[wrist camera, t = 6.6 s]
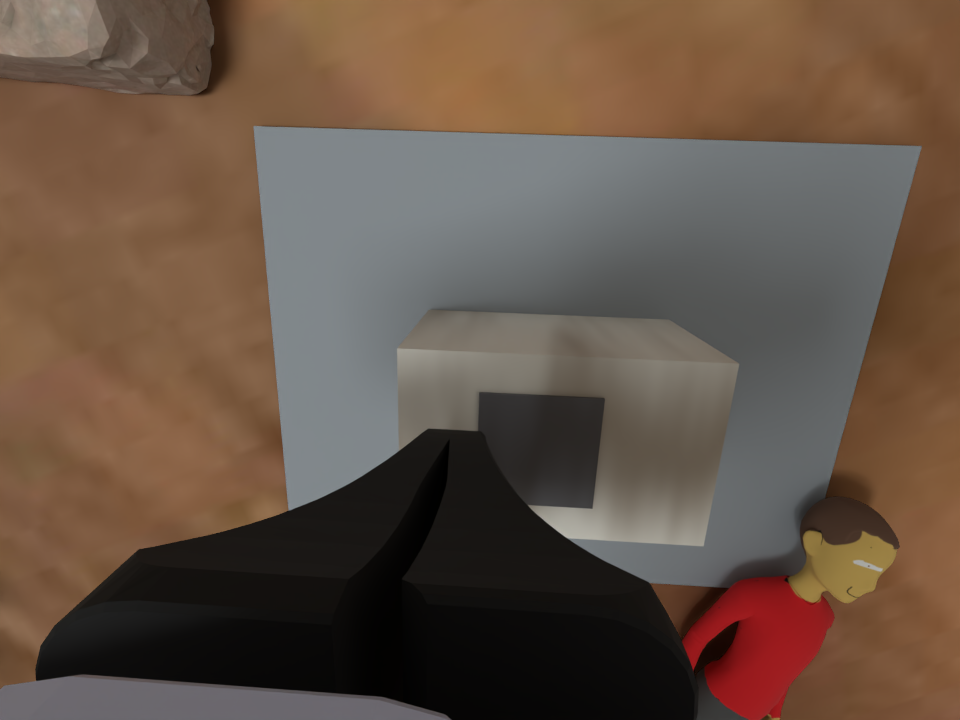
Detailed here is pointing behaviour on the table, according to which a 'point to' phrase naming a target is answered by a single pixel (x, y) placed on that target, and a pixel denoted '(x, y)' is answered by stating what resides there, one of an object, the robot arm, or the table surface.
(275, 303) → the slate mat
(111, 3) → the brick
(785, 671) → the person figure
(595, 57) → the table surface
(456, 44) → the table surface
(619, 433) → the cream block
